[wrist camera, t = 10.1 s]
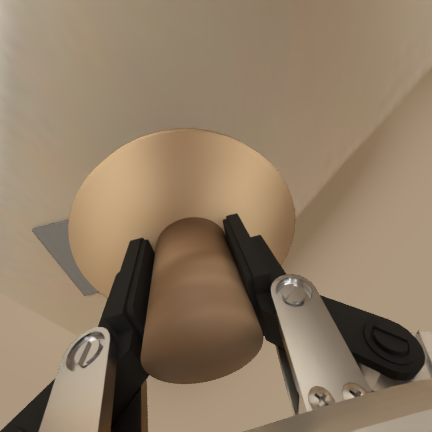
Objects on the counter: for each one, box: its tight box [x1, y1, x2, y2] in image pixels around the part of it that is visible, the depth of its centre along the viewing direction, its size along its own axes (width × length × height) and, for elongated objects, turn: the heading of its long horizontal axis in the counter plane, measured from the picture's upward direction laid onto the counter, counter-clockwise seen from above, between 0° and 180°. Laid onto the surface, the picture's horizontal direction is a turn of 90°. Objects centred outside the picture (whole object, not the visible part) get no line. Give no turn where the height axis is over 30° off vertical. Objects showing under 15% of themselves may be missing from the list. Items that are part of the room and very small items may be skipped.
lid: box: [68, 129, 295, 384], centre depth 9 cm, size 11×11×6 cm
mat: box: [32, 220, 99, 296], centre depth 27 cm, size 12×12×1 cm
